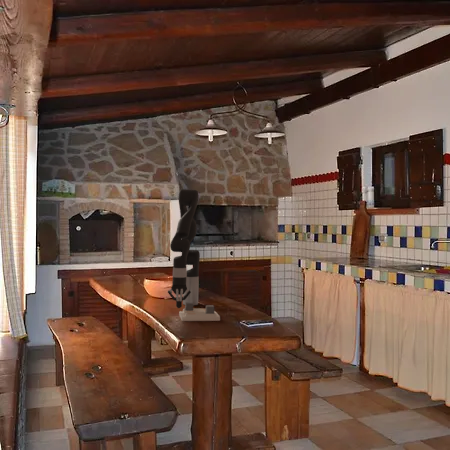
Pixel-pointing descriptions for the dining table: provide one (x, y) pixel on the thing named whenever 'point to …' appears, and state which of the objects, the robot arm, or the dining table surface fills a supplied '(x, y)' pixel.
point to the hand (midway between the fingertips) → (178, 307)
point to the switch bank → (198, 315)
